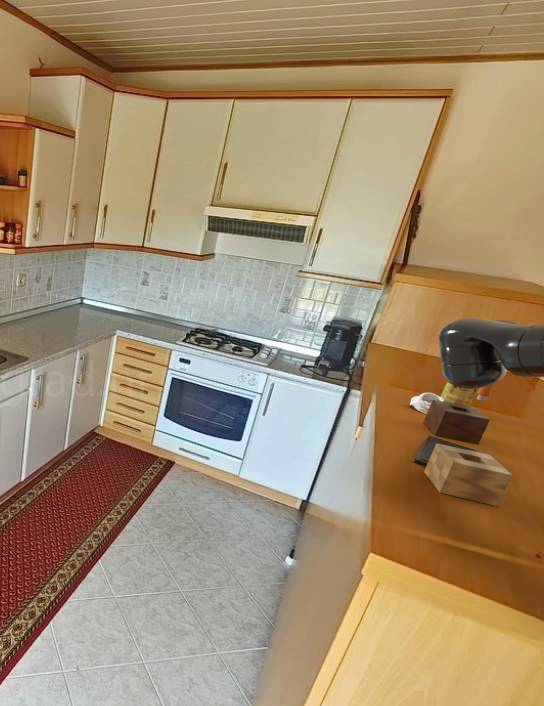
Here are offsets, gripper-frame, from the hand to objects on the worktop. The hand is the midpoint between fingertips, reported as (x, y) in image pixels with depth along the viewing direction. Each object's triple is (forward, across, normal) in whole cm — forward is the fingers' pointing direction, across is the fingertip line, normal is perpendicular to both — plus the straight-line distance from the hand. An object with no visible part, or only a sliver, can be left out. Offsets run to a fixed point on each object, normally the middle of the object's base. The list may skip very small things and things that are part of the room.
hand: (512, 335), depth 94 cm
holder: (+9, -4, -25) cm, 27 cm away
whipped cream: (+22, -11, -25) cm, 35 cm away
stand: (-23, +4, -25) cm, 34 cm away
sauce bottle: (+33, -8, -25) cm, 42 cm away
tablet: (-9, +1, -25) cm, 26 cm away
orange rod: (-3, 0, -13) cm, 13 cm away
